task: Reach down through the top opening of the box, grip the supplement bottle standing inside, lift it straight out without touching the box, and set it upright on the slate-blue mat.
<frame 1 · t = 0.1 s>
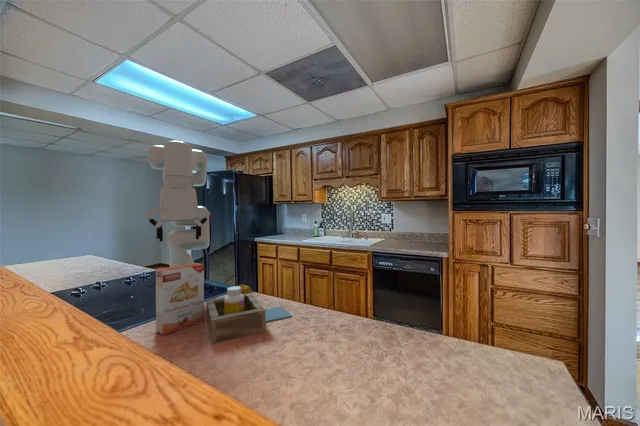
hand: (179, 240, 78), 31 cm above the worktop, tool pointing down, fingers open, 9 cm apart
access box: (234, 324, 91), on the worktop
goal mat: (273, 314, 99), on the worktop
supplement bottle: (234, 325, 91), resting in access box
apple: (241, 306, 108), on the worktop
cracker box: (181, 326, 90), on the worktop
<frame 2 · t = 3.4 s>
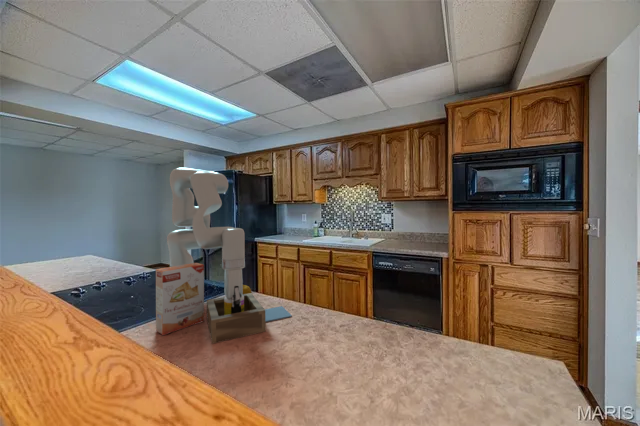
hand: (234, 314, 90), 4 cm above the worktop, tool pointing down, fingers closed on supplement bottle, 6 cm apart
supplement bottle: (234, 325, 91), resting in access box, touching gripper
everything else where it was.
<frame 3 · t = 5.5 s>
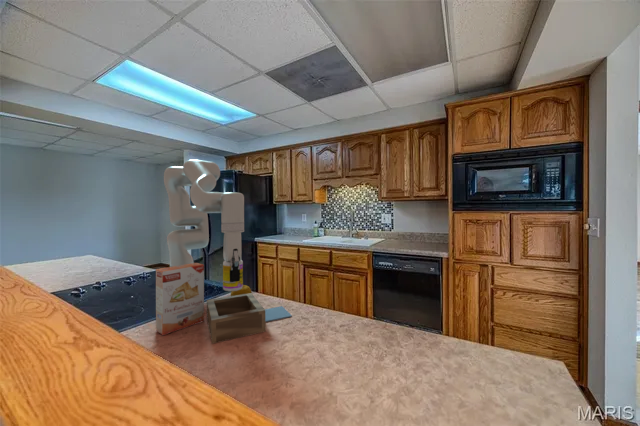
hand: (233, 278, 91), 16 cm above the worktop, tool pointing down, fingers closed on supplement bottle, 6 cm apart
supplement bottle: (233, 289, 91), point 12 cm above the worktop, touching gripper
everything else where it was.
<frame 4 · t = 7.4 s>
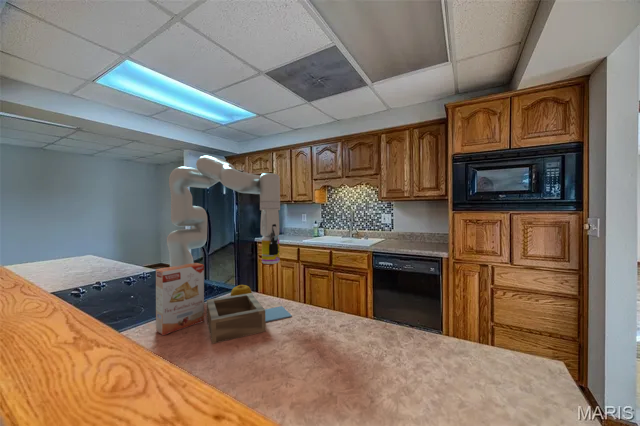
hand: (270, 252, 98), 24 cm above the worktop, tool pointing down, fingers closed on supplement bottle, 6 cm apart
supplement bottle: (270, 263, 98), point 20 cm above the worktop, touching gripper
everything else where it was.
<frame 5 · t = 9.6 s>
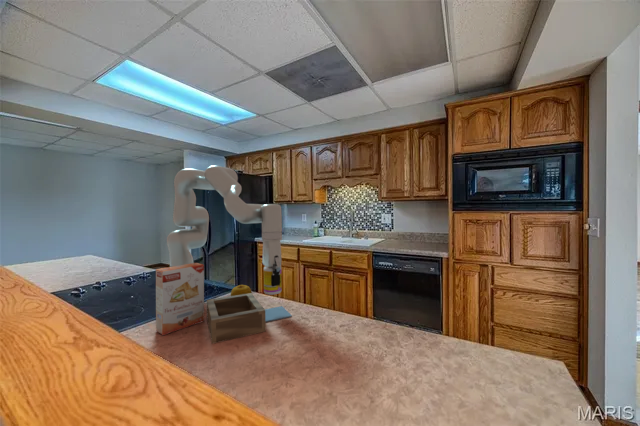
hand: (272, 282, 99), 12 cm above the worktop, tool pointing down, fingers closed on supplement bottle, 6 cm apart
supplement bottle: (273, 293, 99), point 8 cm above the worktop, touching gripper
everything else where it was.
when the fingers open (5 cm above the worktop, at t = 11.5 s): supplement bottle drops 1 cm, resting on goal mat.
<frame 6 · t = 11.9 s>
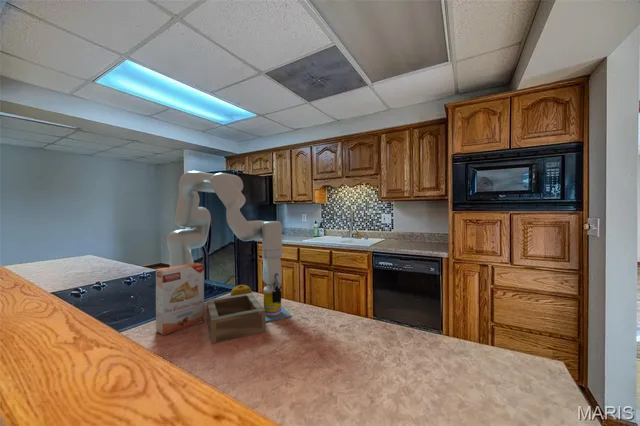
hand: (272, 298, 99), 6 cm above the worktop, tool pointing down, fingers open, 9 cm apart
supplement bottle: (272, 313, 99), resting on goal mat
everything else where it was.
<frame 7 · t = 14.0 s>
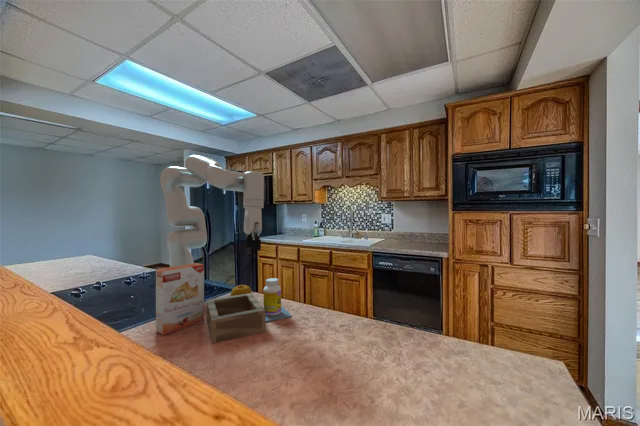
hand: (253, 248, 100), 25 cm above the worktop, tool pointing down, fingers open, 9 cm apart
nothing on the worktop moved.
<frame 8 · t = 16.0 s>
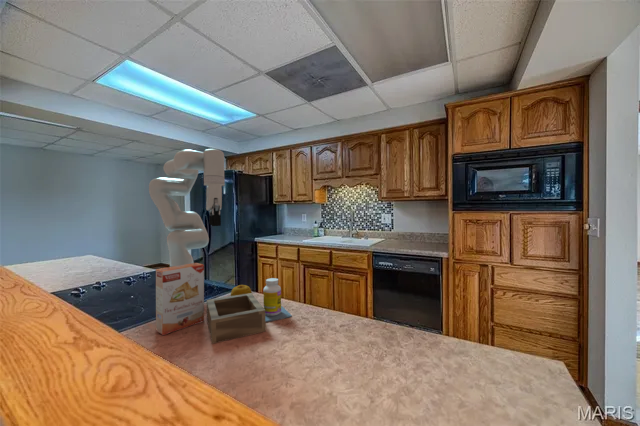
hand: (214, 225, 101), 34 cm above the worktop, tool pointing down, fingers open, 9 cm apart
nothing on the worktop moved.
at the end: supplement bottle inside the target area on the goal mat (0.2 cm from its centre), point 0.3 cm above the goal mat's base; supplement bottle tilted 0°; supplement bottle touching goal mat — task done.
